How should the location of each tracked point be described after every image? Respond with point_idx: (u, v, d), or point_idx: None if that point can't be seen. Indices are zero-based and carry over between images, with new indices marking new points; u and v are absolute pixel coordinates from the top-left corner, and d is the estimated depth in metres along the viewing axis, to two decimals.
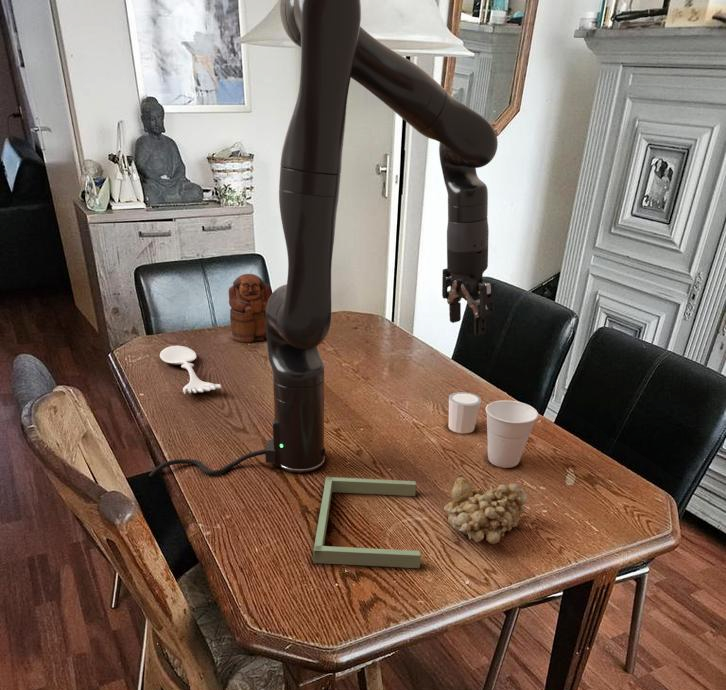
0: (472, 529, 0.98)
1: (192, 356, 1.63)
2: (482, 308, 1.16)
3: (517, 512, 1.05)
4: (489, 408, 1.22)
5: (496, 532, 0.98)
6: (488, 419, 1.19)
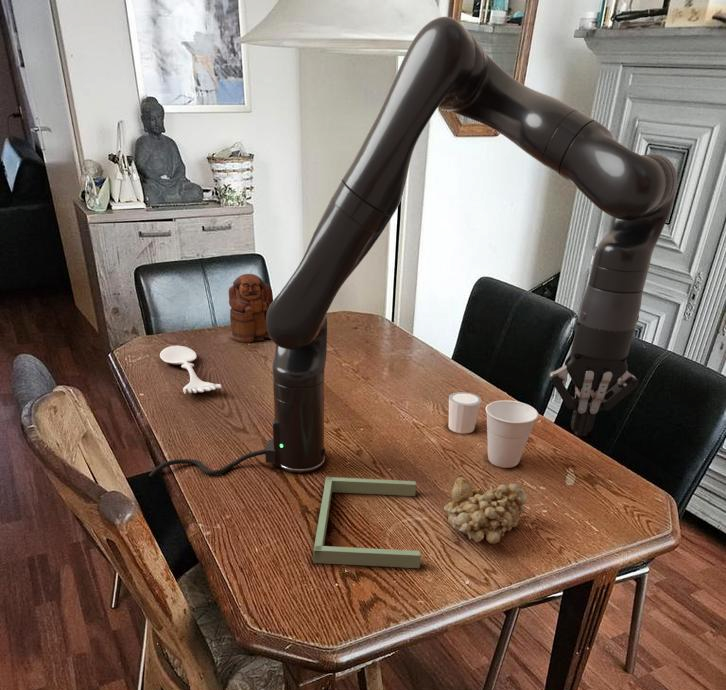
0: (472, 529, 0.98)
1: (192, 356, 1.63)
2: None
3: (517, 512, 1.05)
4: (489, 408, 1.22)
5: (496, 532, 0.98)
6: (488, 419, 1.19)
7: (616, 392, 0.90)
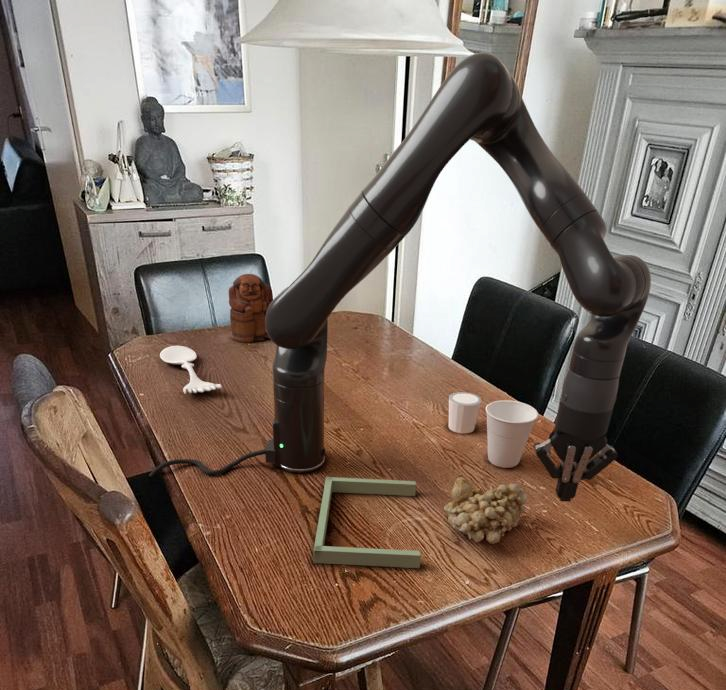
0: (472, 529, 0.98)
1: (192, 356, 1.63)
2: None
3: (517, 512, 1.05)
4: (489, 408, 1.22)
5: (496, 532, 0.98)
6: (488, 419, 1.19)
7: (597, 464, 0.96)
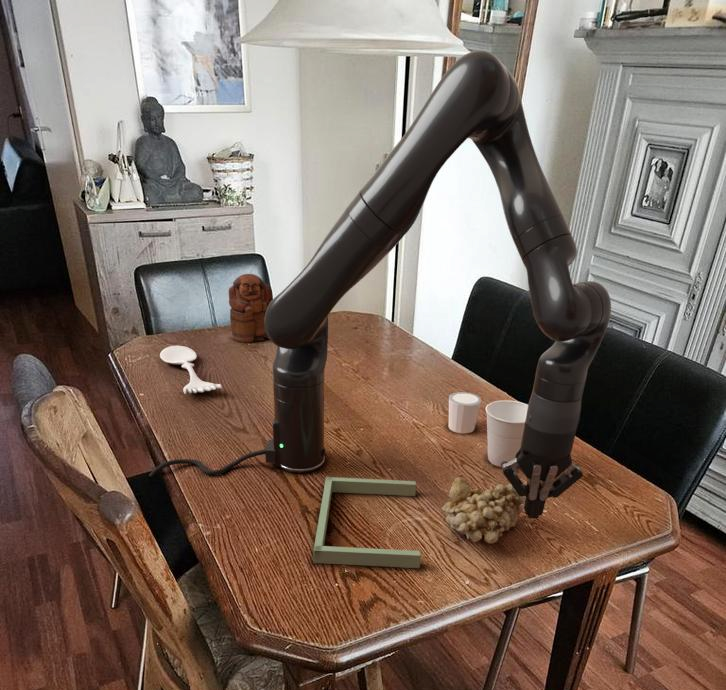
0: (470, 529, 0.98)
1: (192, 356, 1.63)
2: None
3: (515, 512, 1.05)
4: (489, 408, 1.22)
5: (494, 532, 0.98)
6: (488, 419, 1.19)
7: (563, 482, 0.98)
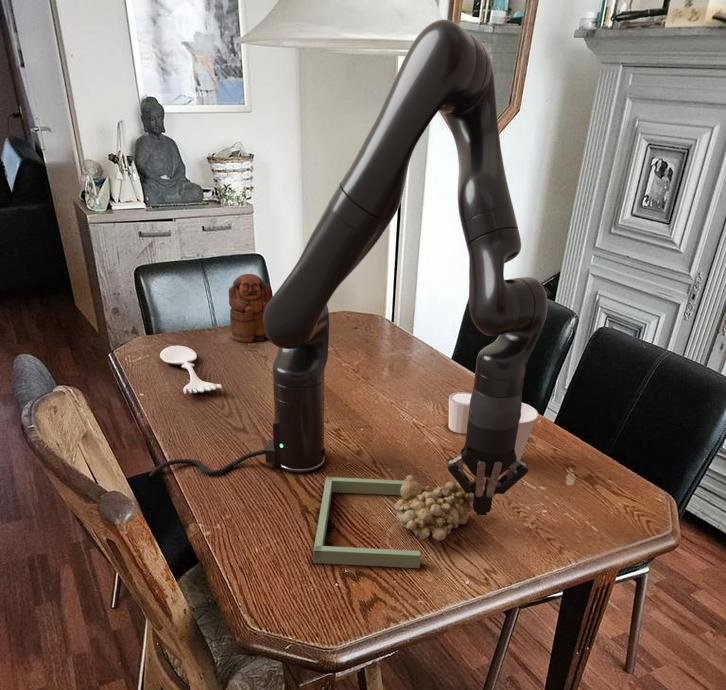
0: (418, 526, 0.98)
1: (192, 356, 1.63)
2: None
3: (466, 509, 1.05)
4: None
5: (442, 529, 0.98)
6: None
7: (509, 478, 0.98)
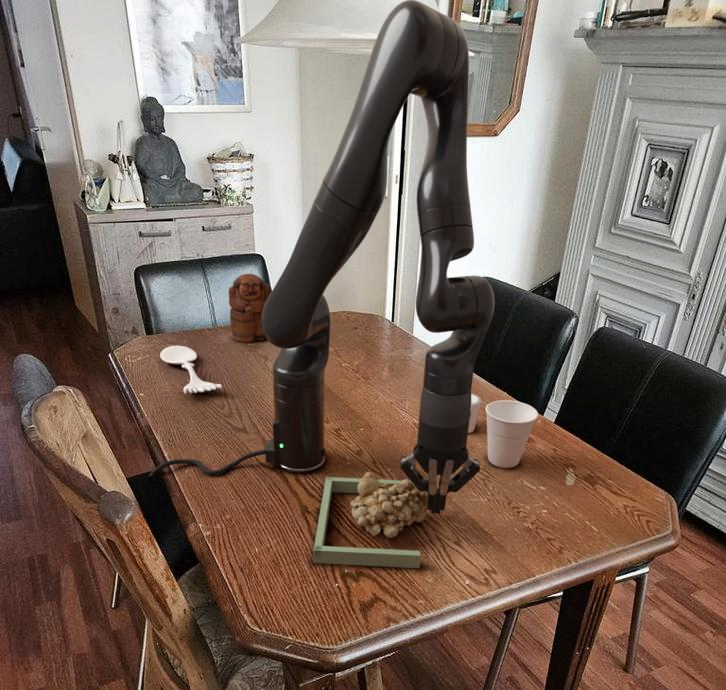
0: (369, 523, 0.99)
1: (192, 356, 1.63)
2: None
3: (422, 507, 1.05)
4: (489, 408, 1.22)
5: (393, 526, 0.98)
6: (488, 419, 1.19)
7: (461, 476, 0.98)
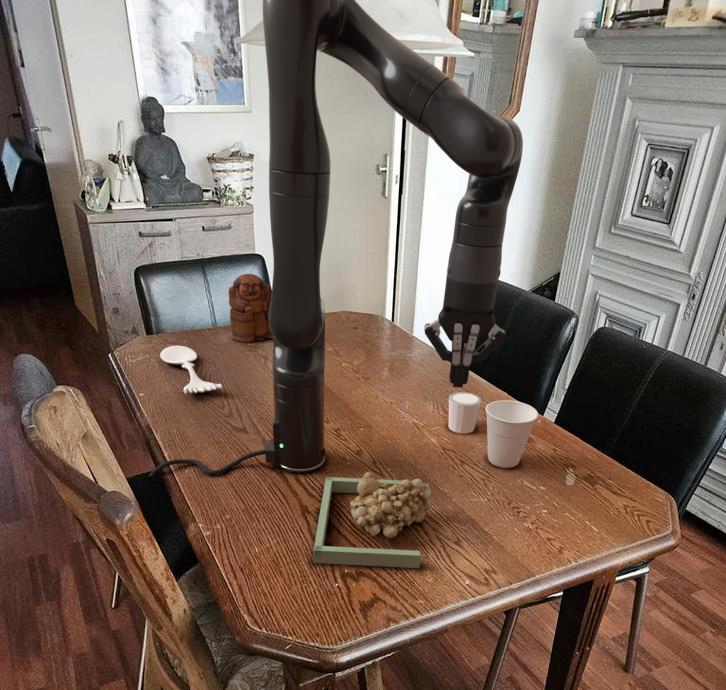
0: (369, 523, 0.99)
1: (192, 356, 1.63)
2: None
3: (422, 507, 1.05)
4: (489, 408, 1.22)
5: (393, 526, 0.98)
6: (488, 419, 1.19)
7: (486, 345, 0.96)
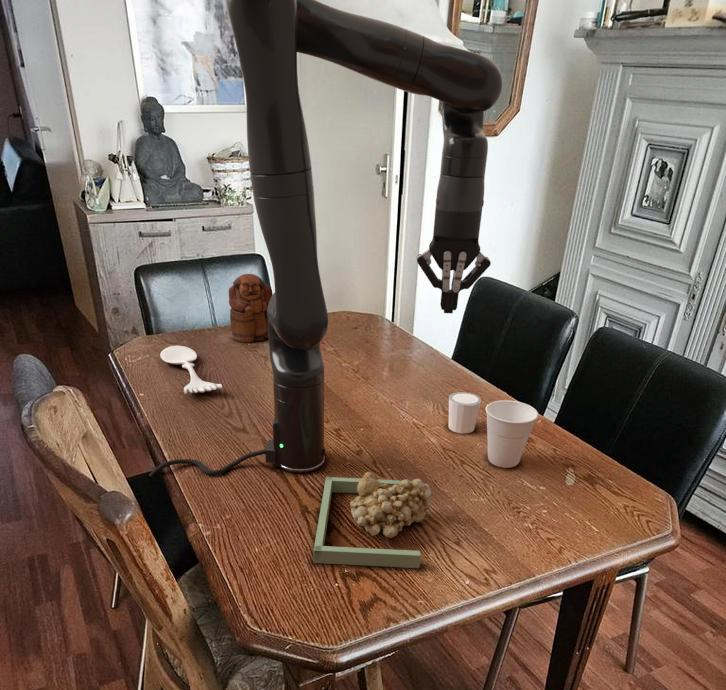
0: (369, 523, 0.99)
1: (192, 356, 1.63)
2: None
3: (422, 507, 1.05)
4: (489, 408, 1.22)
5: (393, 526, 0.98)
6: (488, 419, 1.19)
7: (473, 272, 1.06)
